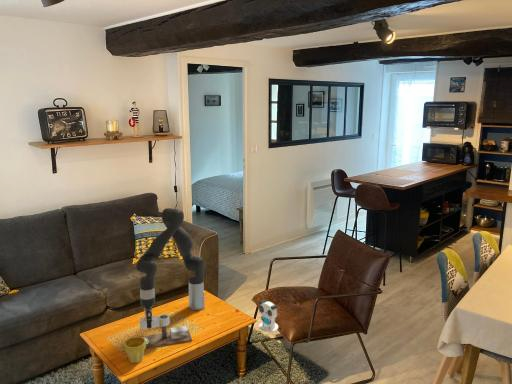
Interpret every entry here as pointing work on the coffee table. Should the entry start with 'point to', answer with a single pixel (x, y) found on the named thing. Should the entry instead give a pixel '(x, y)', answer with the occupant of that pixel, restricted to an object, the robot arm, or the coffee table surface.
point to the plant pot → (135, 349)
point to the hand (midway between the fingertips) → (148, 325)
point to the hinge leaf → (155, 321)
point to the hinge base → (169, 337)
